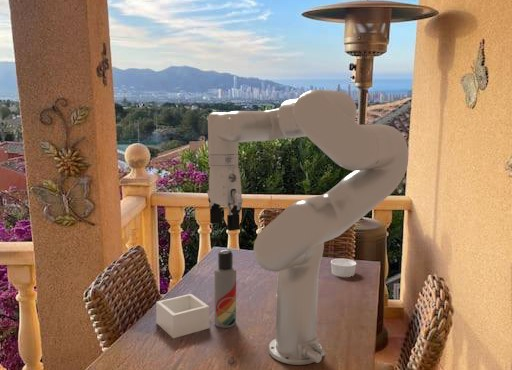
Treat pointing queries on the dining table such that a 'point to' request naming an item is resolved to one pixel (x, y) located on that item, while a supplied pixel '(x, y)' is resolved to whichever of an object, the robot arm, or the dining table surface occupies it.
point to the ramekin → (343, 267)
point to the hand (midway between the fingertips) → (224, 226)
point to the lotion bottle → (225, 291)
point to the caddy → (182, 315)
